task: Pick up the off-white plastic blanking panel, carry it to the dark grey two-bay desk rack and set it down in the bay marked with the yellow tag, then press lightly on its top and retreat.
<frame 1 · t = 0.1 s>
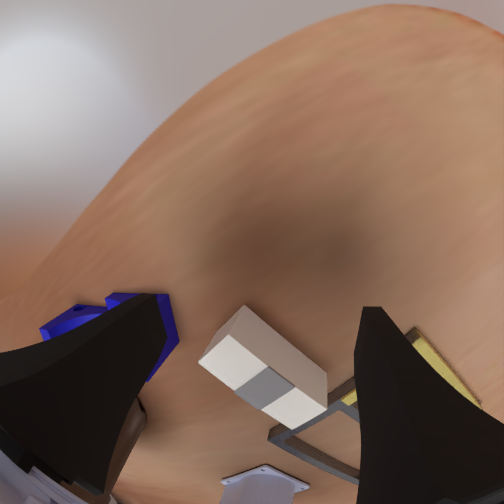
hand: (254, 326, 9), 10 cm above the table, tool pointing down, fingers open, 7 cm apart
panel: (273, 352, 22), on the table
rack: (385, 424, 22), on the table
cable clip: (121, 313, 24), on the table
plant pot: (107, 396, 29), on the table
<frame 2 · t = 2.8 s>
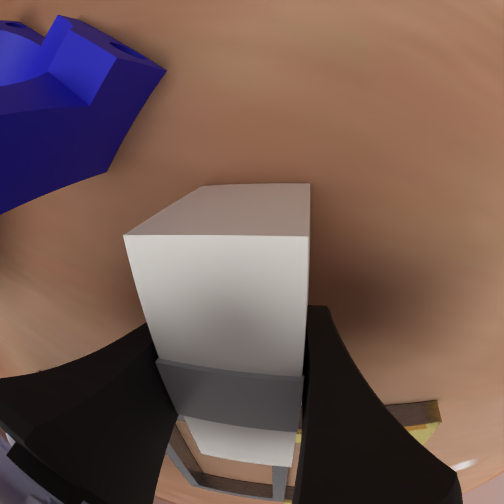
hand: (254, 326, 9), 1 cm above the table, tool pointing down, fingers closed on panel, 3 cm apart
panel: (261, 303, 11), on the table, touching gripper
rack: (282, 460, 16), on the table
cable clip: (60, 63, 8), on the table
when the fingers open (3 cm above the table, at t = 5.9 s): panel stays where it is, resting in rack.
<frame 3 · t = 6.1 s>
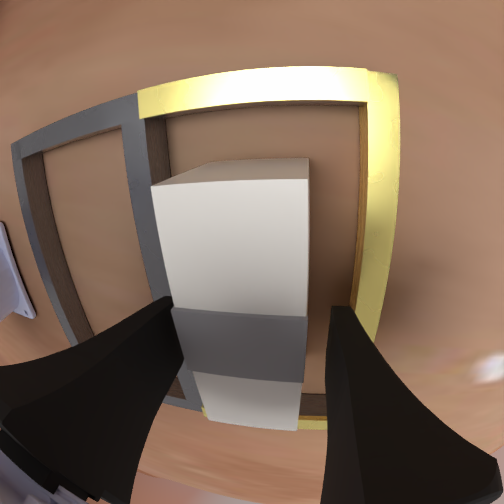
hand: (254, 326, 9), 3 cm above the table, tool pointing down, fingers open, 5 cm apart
panel: (265, 271, 12), resting in rack
rack: (177, 281, 13), on the table
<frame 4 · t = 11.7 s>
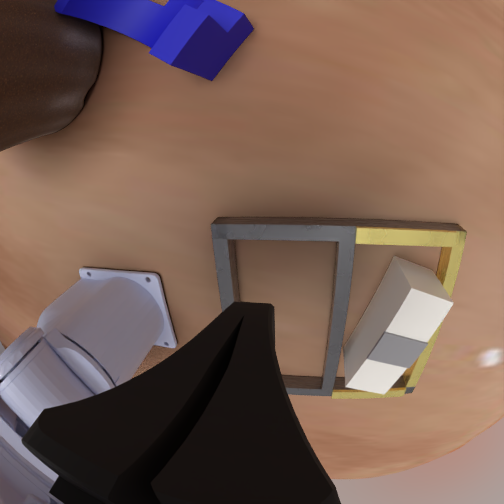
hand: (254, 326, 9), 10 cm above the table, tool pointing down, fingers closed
panel: (386, 311, 20), resting in rack
rack: (336, 318, 21), on the table
cable clip: (169, 21, 14), on the table
plant pot: (57, 72, 17), on the table
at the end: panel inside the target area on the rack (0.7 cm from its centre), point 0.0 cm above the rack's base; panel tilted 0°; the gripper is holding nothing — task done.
